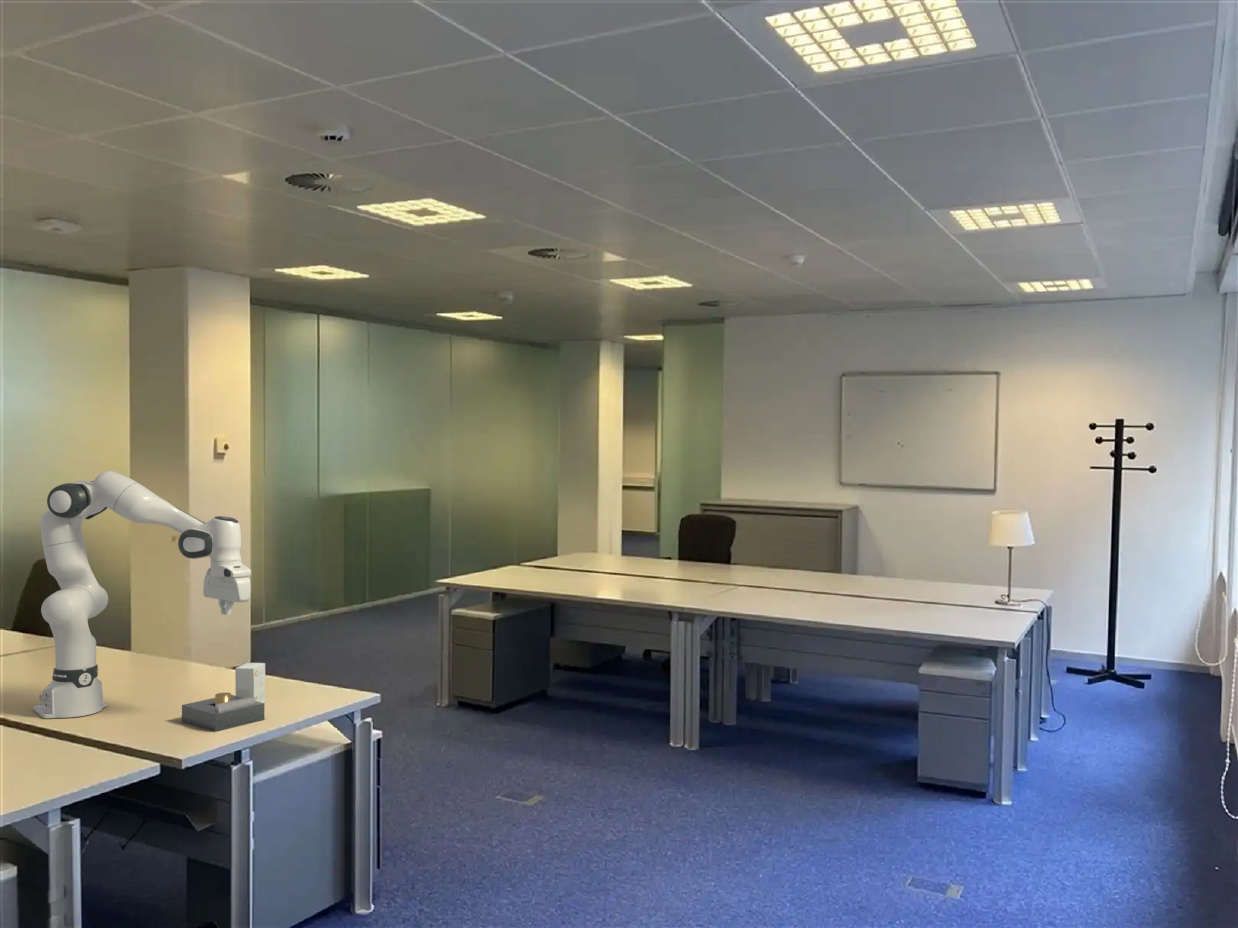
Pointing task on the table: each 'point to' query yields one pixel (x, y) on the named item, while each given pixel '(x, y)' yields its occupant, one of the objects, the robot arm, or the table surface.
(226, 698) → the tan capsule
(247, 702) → the jig
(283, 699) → the table surface
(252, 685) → the small box
